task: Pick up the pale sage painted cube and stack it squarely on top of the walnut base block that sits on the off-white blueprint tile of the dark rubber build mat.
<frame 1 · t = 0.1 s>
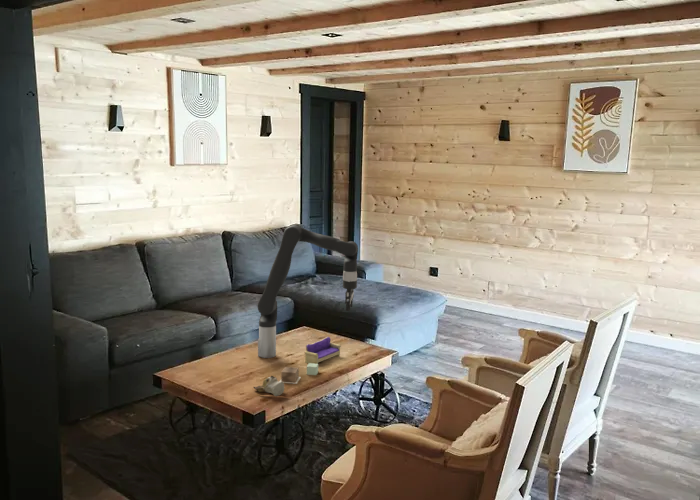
hand: (349, 308, 325), 29 cm above the table, fingers open, 8 cm apart
build mat: (290, 380, 300), on the table
walnut base block: (290, 379, 300), point 1 cm above the table, touching build mat
sage cube: (312, 374, 309), on the table
toy sofa: (322, 360, 332), on the table
ceramic sculpture: (271, 393, 285), on the table
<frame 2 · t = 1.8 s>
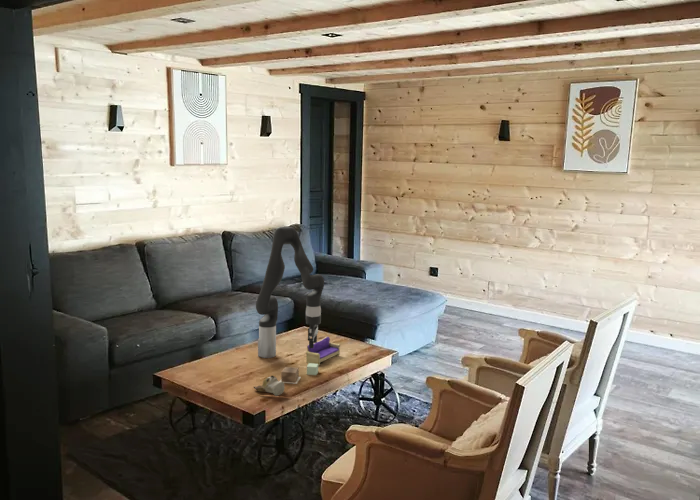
hand: (313, 345, 307), 15 cm above the table, fingers open, 8 cm apart
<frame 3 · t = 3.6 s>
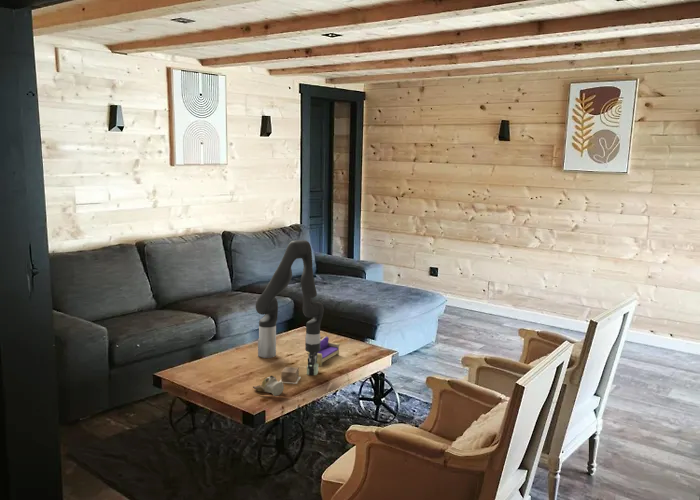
hand: (312, 373, 309), 0 cm above the table, fingers closed on sage cube, 5 cm apart
sage cube: (312, 374, 309), on the table, touching gripper
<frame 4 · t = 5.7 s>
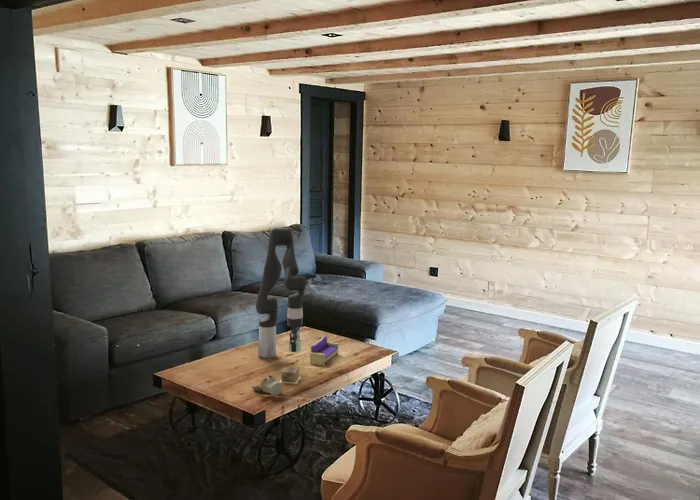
hand: (294, 349, 299), 16 cm above the table, fingers closed on sage cube, 5 cm apart
sage cube: (294, 350, 299), point 15 cm above the table, touching gripper
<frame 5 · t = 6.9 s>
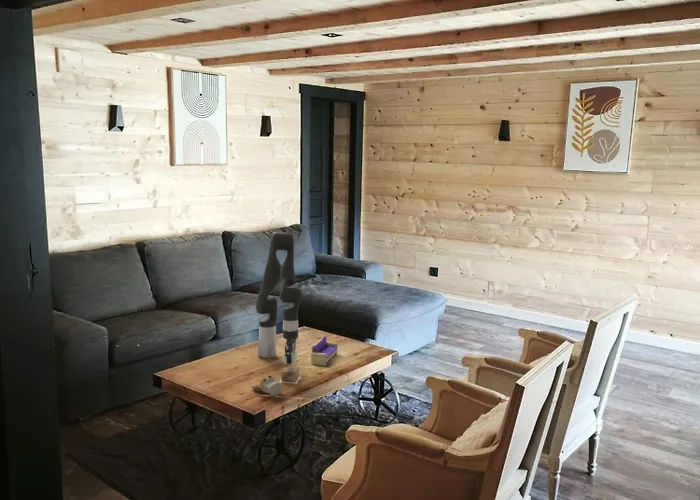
hand: (290, 361, 298), 10 cm above the table, fingers closed on sage cube, 5 cm apart
sage cube: (290, 362, 298), point 9 cm above the table, touching gripper
when the fingers open (7 cm above the table, at t = 7.9 s): sage cube stays where it is, resting on walnut base block.
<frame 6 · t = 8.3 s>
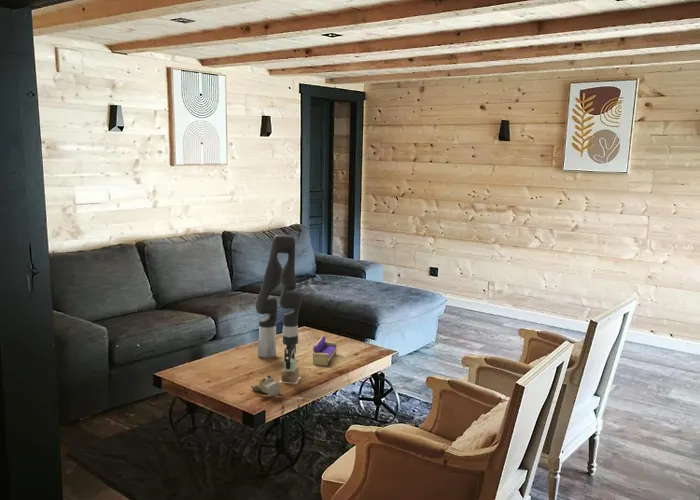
hand: (290, 365, 298), 8 cm above the table, fingers open, 8 cm apart
walnut base block: (290, 379, 300), point 1 cm above the table, touching build mat, sage cube
sage cube: (290, 369, 299), point 6 cm above the table, touching walnut base block
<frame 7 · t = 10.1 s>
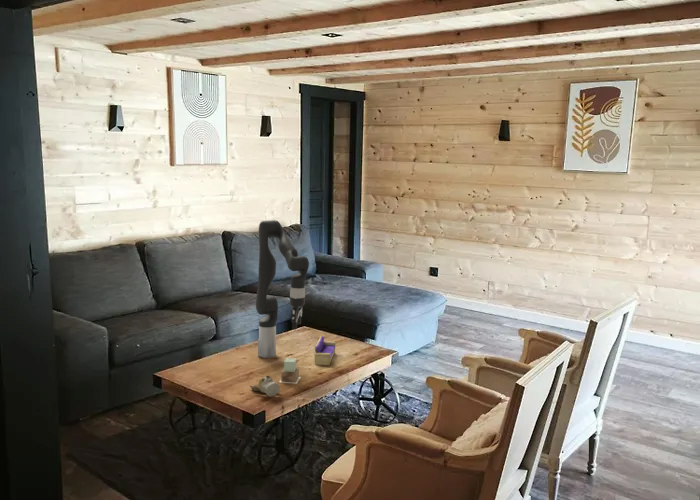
hand: (296, 326, 308), 24 cm above the table, fingers open, 8 cm apart
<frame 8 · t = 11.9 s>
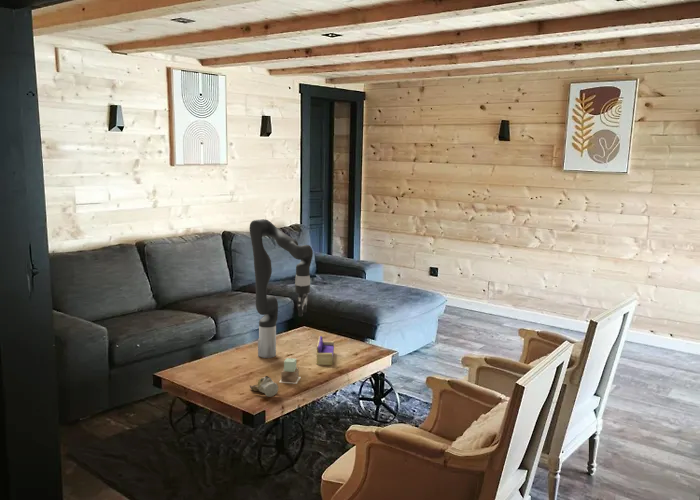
hand: (302, 314, 317), 28 cm above the table, fingers open, 8 cm apart
at the end: sage cube 0.1 cm off-centre on the walnut base block, point 5.0 cm above the walnut base block's base; sage cube tilted 0°; the gripper is holding nothing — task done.
